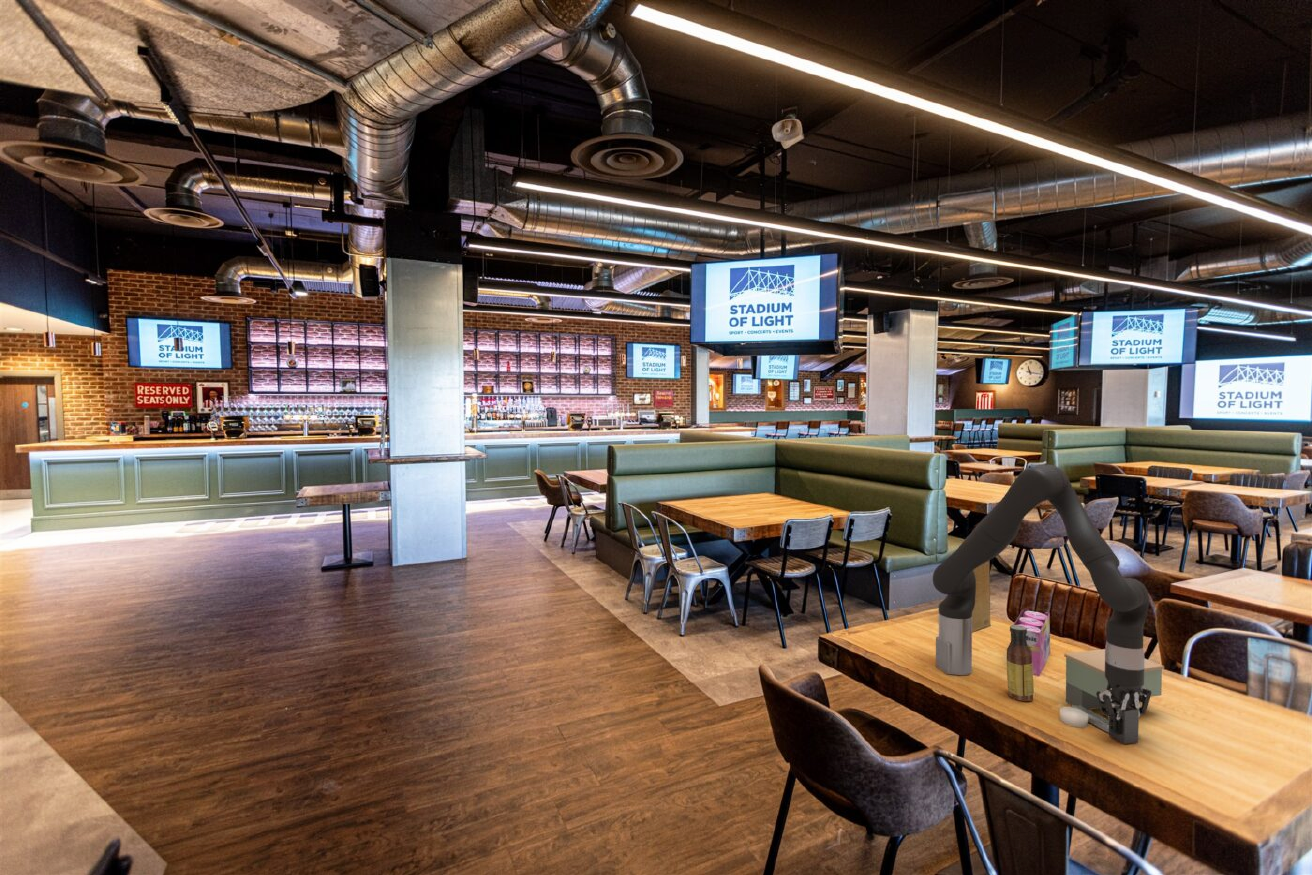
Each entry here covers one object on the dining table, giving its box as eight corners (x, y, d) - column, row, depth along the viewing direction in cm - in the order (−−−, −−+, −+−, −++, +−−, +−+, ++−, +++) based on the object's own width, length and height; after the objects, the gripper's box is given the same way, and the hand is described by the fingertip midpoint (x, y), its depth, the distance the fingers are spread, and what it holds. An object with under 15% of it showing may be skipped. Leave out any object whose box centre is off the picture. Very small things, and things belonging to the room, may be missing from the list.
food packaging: (967, 618, 230) (967, 554, 229) (991, 625, 222) (992, 559, 221) (947, 625, 222) (947, 559, 222) (971, 633, 214) (971, 564, 214)
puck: (1074, 729, 149) (1074, 719, 149) (1053, 717, 155) (1054, 708, 155) (1094, 726, 150) (1094, 716, 150) (1072, 714, 156) (1073, 705, 156)
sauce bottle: (1030, 693, 168) (1030, 624, 167) (1036, 703, 162) (1036, 632, 161) (1004, 690, 170) (1004, 622, 169) (1009, 700, 164) (1009, 629, 163)
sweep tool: (1124, 743, 142) (1124, 711, 141) (1069, 713, 156) (1069, 683, 156) (1138, 741, 142) (1138, 709, 142) (1082, 711, 157) (1082, 681, 157)
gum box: (1023, 646, 202) (1023, 607, 201) (1051, 652, 197) (1051, 611, 196) (1010, 670, 184) (1010, 626, 183) (1040, 677, 179) (1040, 632, 178)
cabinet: (1106, 724, 151) (1107, 672, 150) (1063, 701, 163) (1064, 653, 163) (1163, 716, 154) (1164, 666, 154) (1117, 694, 167) (1117, 647, 166)
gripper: (1114, 671, 138) (1113, 743, 139) (1164, 665, 141) (1163, 736, 141) (1085, 658, 146) (1084, 727, 146) (1133, 653, 148) (1132, 720, 149)
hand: (1123, 731), depth 144 cm, fingers closed on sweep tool, 4 cm apart
